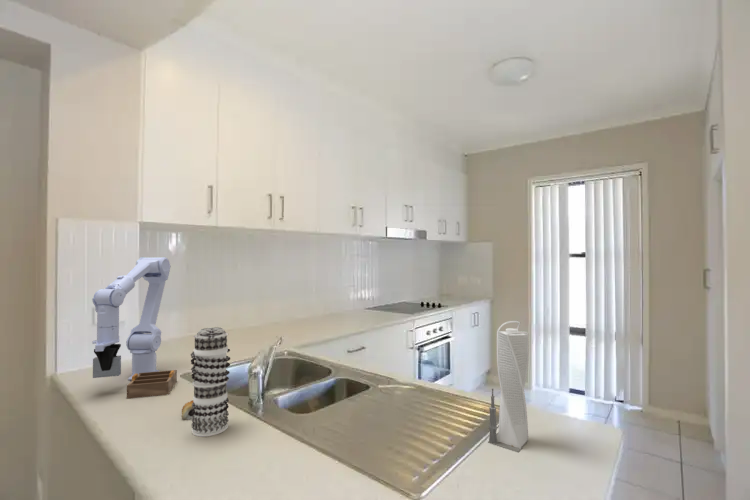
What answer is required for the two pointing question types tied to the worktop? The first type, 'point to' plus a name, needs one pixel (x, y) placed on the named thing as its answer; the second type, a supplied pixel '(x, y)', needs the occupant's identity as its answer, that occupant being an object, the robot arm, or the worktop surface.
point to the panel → (113, 371)
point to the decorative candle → (210, 382)
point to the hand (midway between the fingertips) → (107, 369)
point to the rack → (151, 384)
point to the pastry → (187, 411)
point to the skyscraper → (511, 390)
